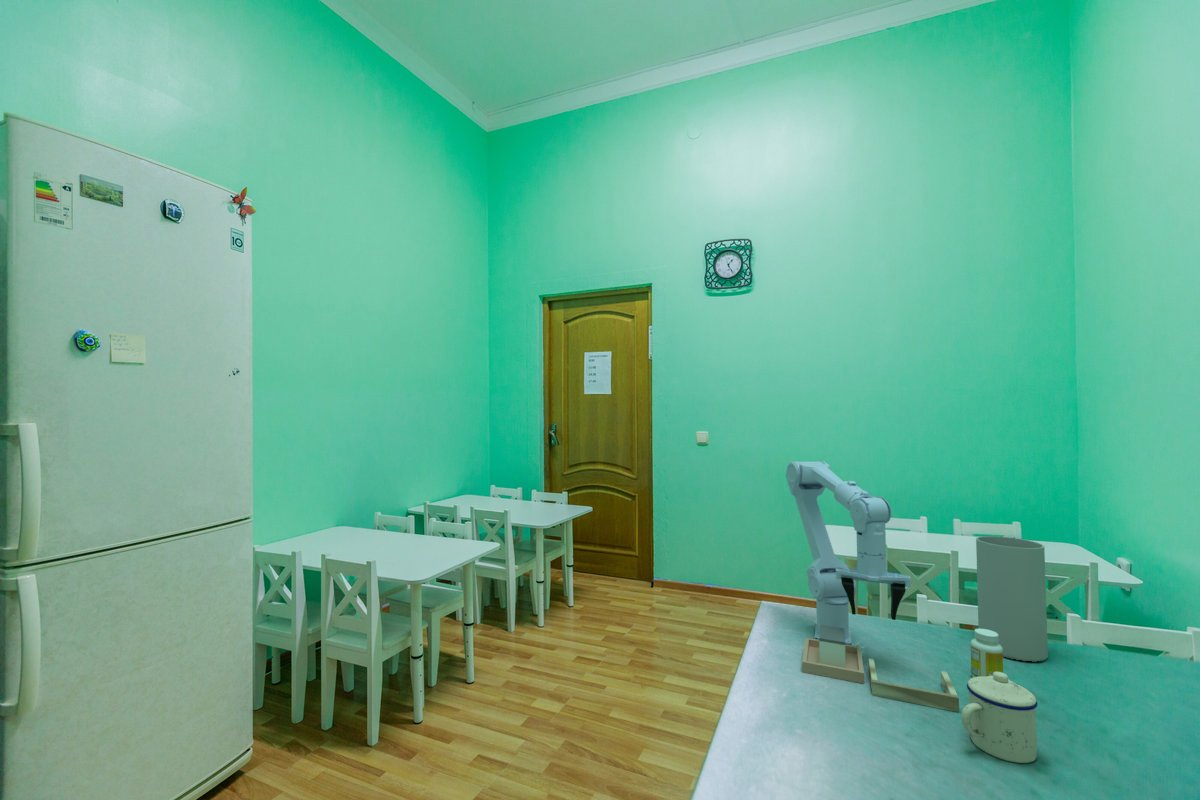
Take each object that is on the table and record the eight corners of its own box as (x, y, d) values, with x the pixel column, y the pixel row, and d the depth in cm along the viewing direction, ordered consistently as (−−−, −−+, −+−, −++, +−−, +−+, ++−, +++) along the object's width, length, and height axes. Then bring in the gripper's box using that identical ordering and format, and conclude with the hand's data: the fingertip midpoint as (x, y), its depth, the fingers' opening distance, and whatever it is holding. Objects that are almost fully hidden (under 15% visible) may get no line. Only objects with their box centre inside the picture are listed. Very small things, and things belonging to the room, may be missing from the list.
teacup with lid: (998, 727, 89) (996, 658, 90) (1054, 761, 80) (1052, 684, 81) (940, 735, 87) (938, 665, 87) (991, 771, 78) (989, 692, 78)
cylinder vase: (1051, 668, 111) (1047, 551, 112) (979, 653, 118) (976, 543, 119) (1044, 648, 121) (1040, 540, 122) (978, 635, 128) (975, 534, 129)
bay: (868, 670, 110) (868, 658, 110) (946, 684, 104) (946, 671, 104) (872, 695, 100) (872, 681, 100) (959, 712, 94) (958, 698, 94)
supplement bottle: (967, 678, 106) (966, 631, 107) (975, 670, 110) (974, 624, 110) (999, 689, 102) (998, 639, 103) (1007, 680, 106) (1005, 633, 106)
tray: (805, 646, 121) (805, 637, 121) (860, 656, 116) (860, 646, 116) (802, 672, 109) (802, 661, 109) (864, 683, 104) (864, 673, 104)
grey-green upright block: (820, 651, 117) (820, 624, 117) (844, 655, 115) (844, 628, 115) (819, 666, 110) (819, 638, 110) (845, 671, 108) (845, 642, 108)
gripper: (835, 553, 113) (836, 616, 112) (912, 560, 107) (914, 627, 106) (835, 546, 119) (836, 606, 119) (907, 552, 113) (909, 616, 113)
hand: (873, 615), depth 113 cm, fingers open, 7 cm apart
